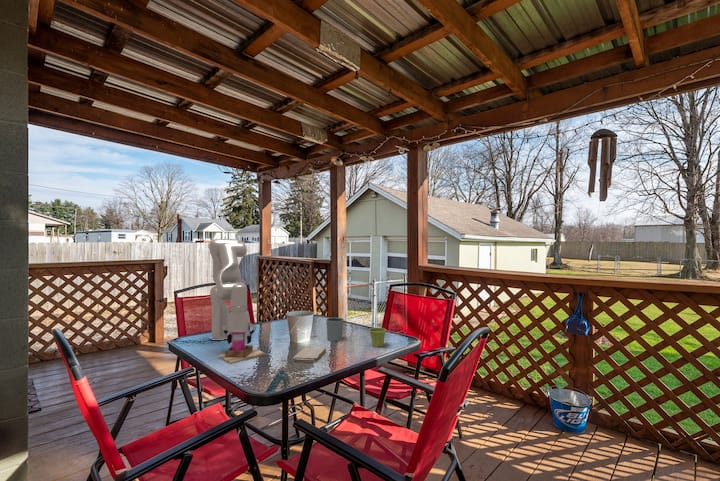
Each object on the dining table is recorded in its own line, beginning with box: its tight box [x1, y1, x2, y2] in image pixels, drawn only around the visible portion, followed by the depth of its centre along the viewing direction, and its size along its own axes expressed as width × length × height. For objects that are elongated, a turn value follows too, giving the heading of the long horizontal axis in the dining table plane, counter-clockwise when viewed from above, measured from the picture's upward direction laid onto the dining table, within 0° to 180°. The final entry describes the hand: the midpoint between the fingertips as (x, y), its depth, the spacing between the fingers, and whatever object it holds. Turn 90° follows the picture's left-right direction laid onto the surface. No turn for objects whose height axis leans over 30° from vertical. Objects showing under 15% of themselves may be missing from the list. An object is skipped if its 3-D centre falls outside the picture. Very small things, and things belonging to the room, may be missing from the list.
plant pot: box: [368, 327, 387, 348], centre depth 186 cm, size 9×9×9 cm
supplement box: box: [231, 332, 246, 351], centre depth 170 cm, size 6×6×12 cm
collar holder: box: [216, 344, 266, 365], centre depth 171 cm, size 16×18×4 cm
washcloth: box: [292, 347, 327, 364], centre depth 168 cm, size 12×18×3 cm, turn 170°
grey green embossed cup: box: [326, 316, 345, 343], centre depth 199 cm, size 10×10×12 cm
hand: (239, 343), depth 170 cm, fingers open, 9 cm apart
